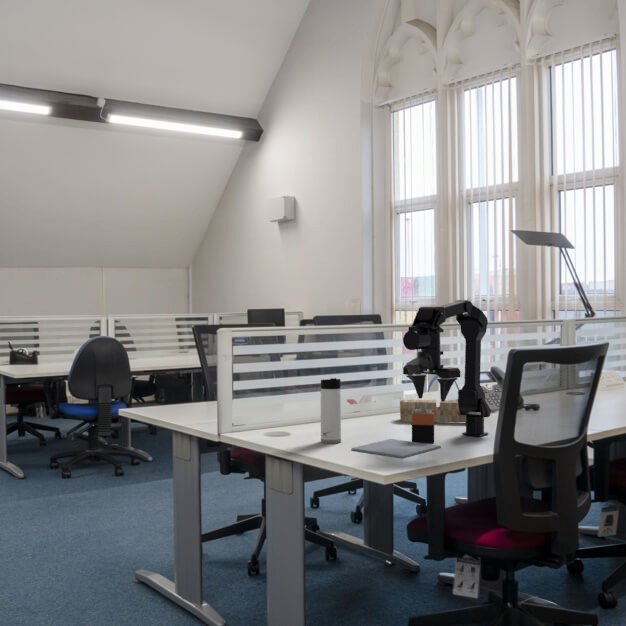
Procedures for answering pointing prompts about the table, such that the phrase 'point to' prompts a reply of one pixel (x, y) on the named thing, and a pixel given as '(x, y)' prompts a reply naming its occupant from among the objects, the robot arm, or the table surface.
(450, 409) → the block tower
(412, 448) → the mat
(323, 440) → the travel mug
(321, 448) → the table surface
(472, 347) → the robot arm
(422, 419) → the battery
